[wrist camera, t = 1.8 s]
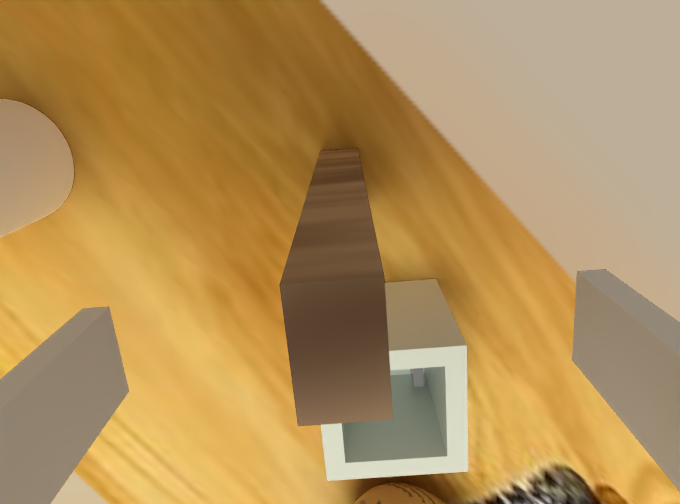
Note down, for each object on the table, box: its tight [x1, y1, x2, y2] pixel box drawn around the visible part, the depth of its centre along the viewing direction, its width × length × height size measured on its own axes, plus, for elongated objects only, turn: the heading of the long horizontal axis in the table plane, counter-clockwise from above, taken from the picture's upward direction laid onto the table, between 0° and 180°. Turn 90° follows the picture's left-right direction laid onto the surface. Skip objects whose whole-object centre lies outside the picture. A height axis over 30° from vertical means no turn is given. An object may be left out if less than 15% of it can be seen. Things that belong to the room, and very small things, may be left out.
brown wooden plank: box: [280, 148, 393, 426], centre depth 25 cm, size 4×2×24 cm, turn 5°
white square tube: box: [321, 279, 468, 481], centre depth 35 cm, size 8×8×10 cm
